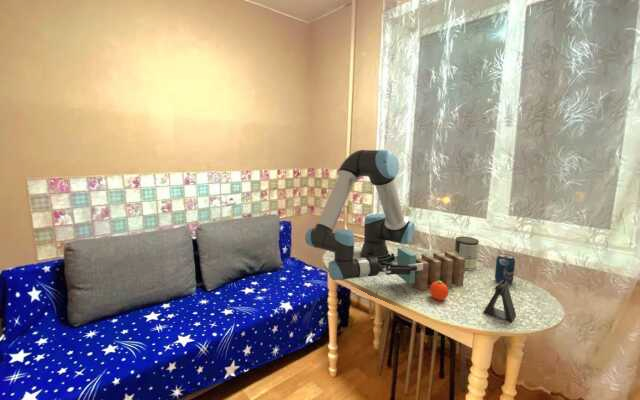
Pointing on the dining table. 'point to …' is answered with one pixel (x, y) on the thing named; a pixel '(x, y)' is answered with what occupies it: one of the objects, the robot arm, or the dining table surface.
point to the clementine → (438, 290)
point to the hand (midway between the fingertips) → (415, 261)
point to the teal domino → (405, 259)
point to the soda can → (505, 268)
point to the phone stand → (507, 303)
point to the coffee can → (467, 251)
